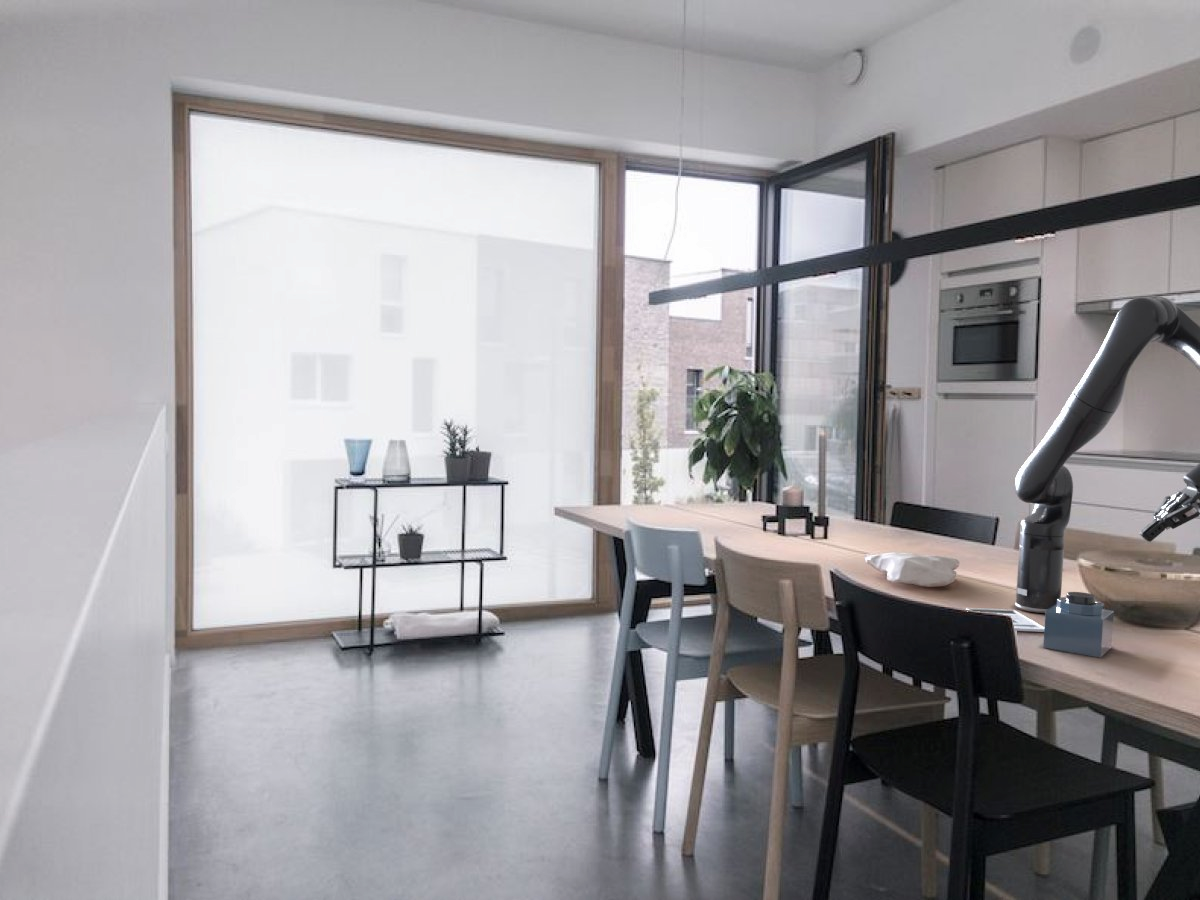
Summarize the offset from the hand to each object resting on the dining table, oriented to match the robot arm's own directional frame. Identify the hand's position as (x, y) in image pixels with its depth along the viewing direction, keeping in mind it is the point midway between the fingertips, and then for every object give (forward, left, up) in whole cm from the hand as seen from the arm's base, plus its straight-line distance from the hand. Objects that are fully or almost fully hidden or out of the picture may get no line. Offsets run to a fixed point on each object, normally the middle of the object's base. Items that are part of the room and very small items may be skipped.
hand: (1144, 537), depth 188 cm
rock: (-41, -58, -22) cm, 75 cm away
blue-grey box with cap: (+5, -9, -22) cm, 24 cm away
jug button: (+5, -9, -13) cm, 17 cm away
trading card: (-8, -26, -22) cm, 35 cm away
